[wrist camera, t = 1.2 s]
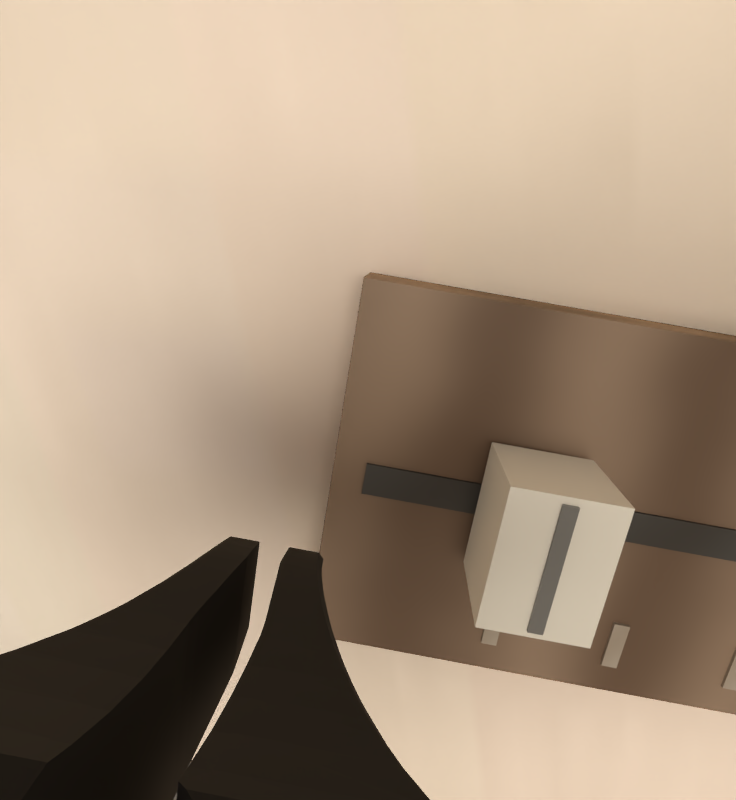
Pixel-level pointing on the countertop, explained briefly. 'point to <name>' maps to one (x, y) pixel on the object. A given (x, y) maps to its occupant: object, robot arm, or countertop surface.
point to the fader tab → (544, 545)
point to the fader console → (545, 431)
